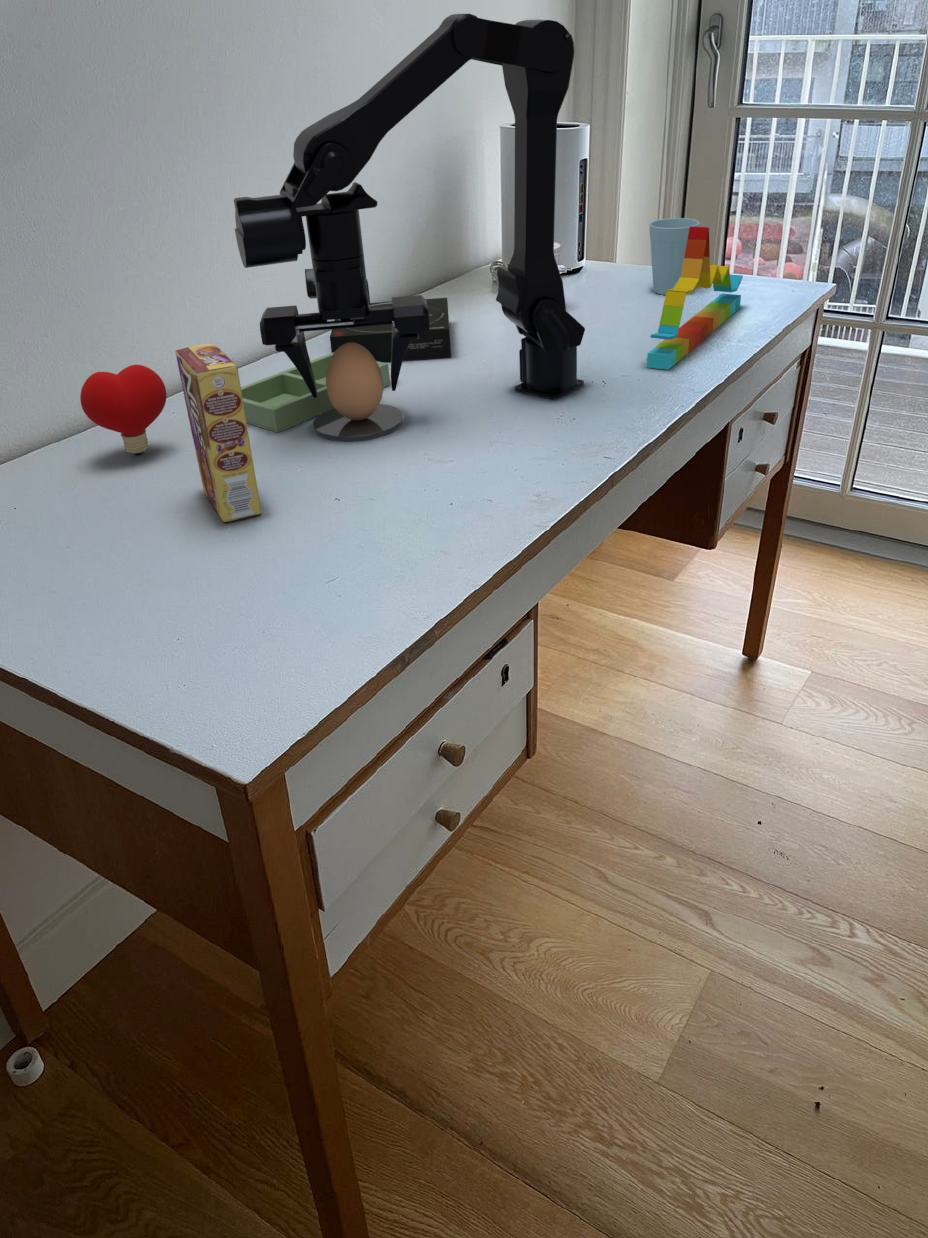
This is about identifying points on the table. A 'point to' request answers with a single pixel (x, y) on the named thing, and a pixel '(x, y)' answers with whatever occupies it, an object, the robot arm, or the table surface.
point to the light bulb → (125, 403)
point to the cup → (668, 250)
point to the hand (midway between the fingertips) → (354, 393)
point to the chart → (692, 276)
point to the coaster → (358, 424)
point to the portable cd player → (380, 336)
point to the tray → (291, 397)
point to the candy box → (219, 430)
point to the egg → (354, 382)
